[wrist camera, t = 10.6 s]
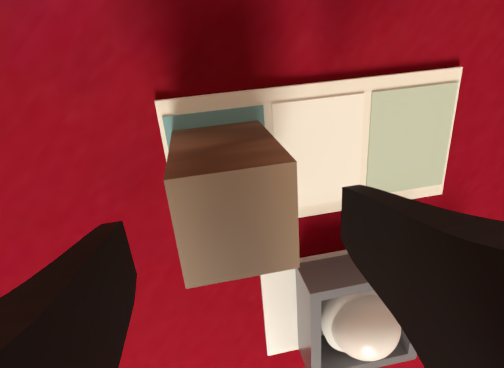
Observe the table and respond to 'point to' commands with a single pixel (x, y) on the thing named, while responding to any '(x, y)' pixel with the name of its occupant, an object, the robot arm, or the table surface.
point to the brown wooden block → (232, 202)
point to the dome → (360, 326)
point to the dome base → (316, 311)
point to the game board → (342, 130)
